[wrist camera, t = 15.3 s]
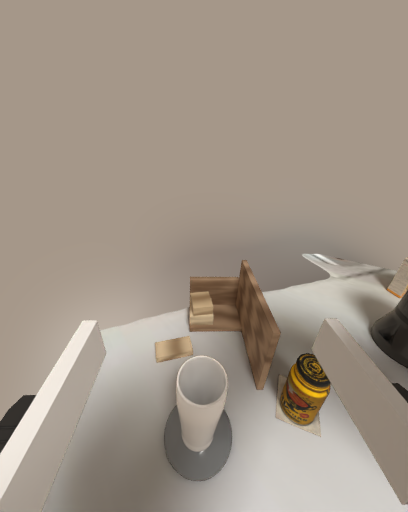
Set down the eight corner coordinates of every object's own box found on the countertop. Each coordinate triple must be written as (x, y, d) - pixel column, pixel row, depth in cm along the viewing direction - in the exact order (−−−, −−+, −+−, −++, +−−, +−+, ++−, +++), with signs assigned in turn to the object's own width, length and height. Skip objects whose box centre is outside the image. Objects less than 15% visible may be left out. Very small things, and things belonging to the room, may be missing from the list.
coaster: (245, 436, 34) (245, 434, 33) (194, 505, 27) (194, 504, 27) (200, 384, 41) (200, 383, 40) (151, 430, 34) (151, 428, 34)
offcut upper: (212, 313, 52) (213, 306, 51) (193, 315, 51) (193, 308, 50) (207, 298, 57) (208, 291, 56) (190, 300, 56) (190, 292, 55)
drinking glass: (226, 435, 33) (239, 382, 26) (194, 473, 29) (198, 422, 22) (200, 399, 38) (204, 345, 30) (168, 428, 34) (165, 374, 26)
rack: (262, 389, 40) (280, 332, 33) (188, 391, 39) (189, 334, 32) (238, 304, 62) (245, 258, 54) (189, 304, 61) (190, 257, 53)
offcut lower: (212, 324, 53) (213, 316, 51) (189, 325, 52) (189, 316, 51) (210, 306, 59) (211, 298, 58) (189, 306, 59) (189, 298, 57)
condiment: (275, 418, 36) (292, 377, 31) (278, 374, 43) (292, 335, 38) (320, 437, 34) (347, 398, 28) (316, 388, 41) (337, 349, 35)
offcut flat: (157, 364, 45) (156, 358, 44) (155, 348, 48) (155, 342, 47) (192, 356, 47) (192, 350, 46) (189, 341, 50) (189, 335, 49)
